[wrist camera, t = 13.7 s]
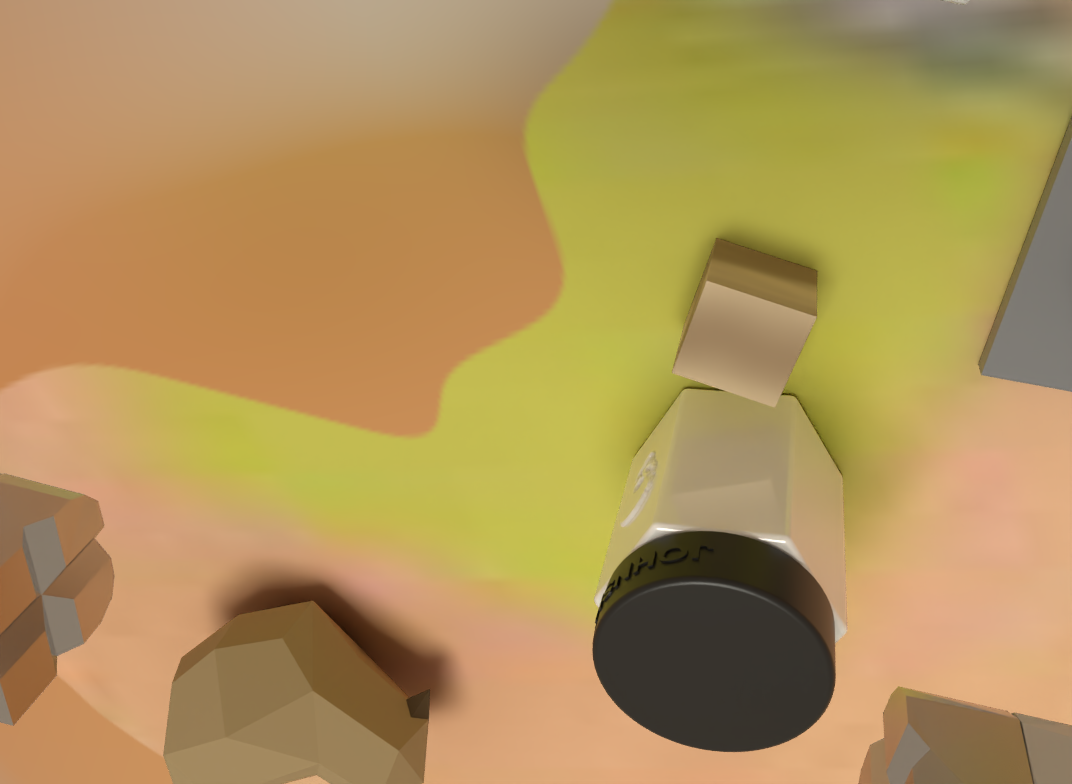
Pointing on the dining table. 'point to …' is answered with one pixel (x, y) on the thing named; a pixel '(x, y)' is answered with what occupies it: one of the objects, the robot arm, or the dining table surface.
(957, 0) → the skincare box
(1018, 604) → the dining table surface
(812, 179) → the dining table surface
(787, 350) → the oak block
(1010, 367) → the coaster
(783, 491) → the jar
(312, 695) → the low-poly potato
